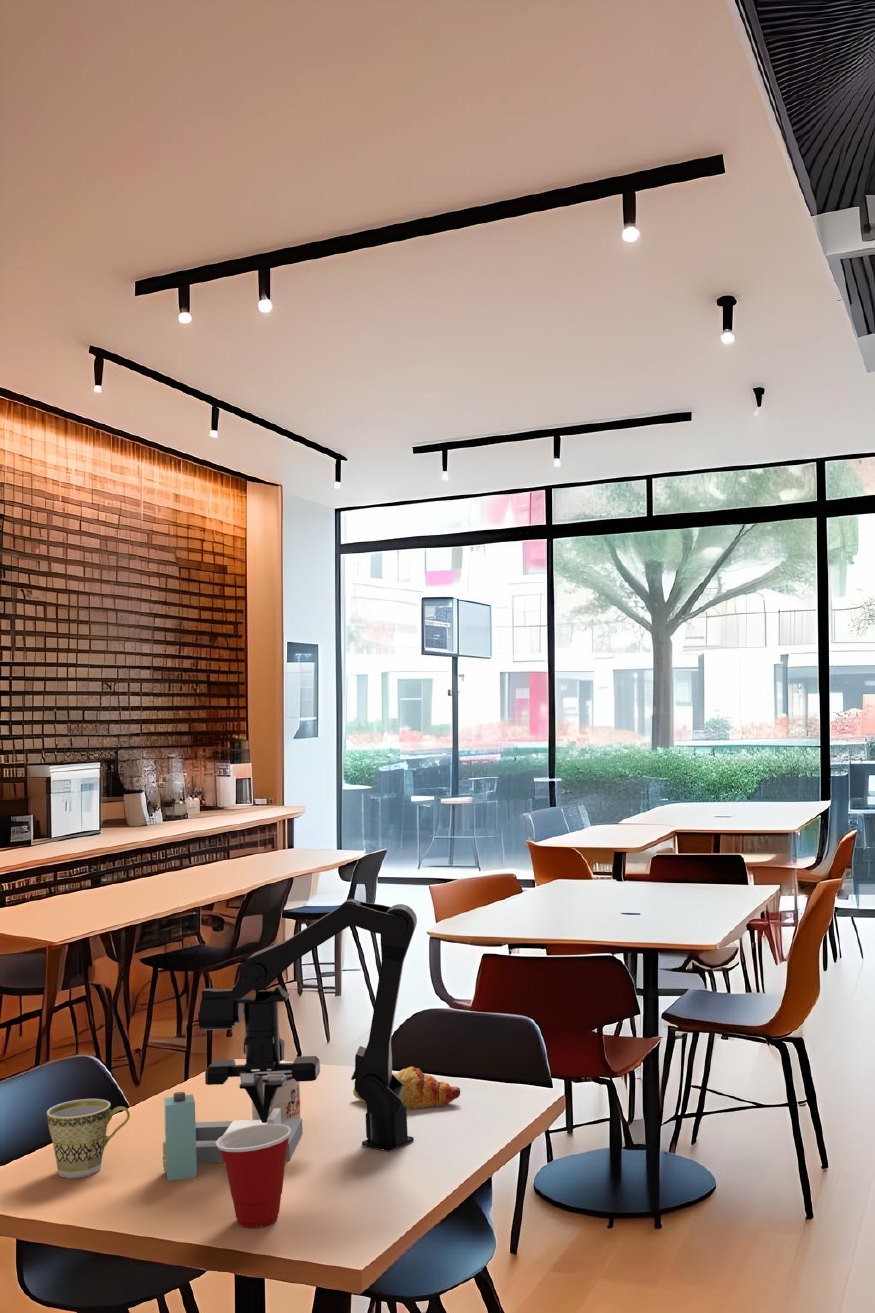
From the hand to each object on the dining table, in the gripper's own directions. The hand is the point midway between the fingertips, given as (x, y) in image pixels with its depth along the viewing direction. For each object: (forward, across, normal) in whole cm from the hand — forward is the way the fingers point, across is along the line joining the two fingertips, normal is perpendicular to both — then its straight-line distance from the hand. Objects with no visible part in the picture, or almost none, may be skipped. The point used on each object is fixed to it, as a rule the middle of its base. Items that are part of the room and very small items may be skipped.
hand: (264, 1122), depth 193 cm
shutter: (+1, +2, 0) cm, 3 cm away
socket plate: (+4, +5, 0) cm, 6 cm away
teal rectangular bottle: (+4, +11, +11) cm, 16 cm away
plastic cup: (+4, -4, +30) cm, 31 cm away
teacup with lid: (+4, +1, -15) cm, 15 cm away
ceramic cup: (+4, +27, +8) cm, 29 cm away
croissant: (+5, -22, -22) cm, 32 cm away
